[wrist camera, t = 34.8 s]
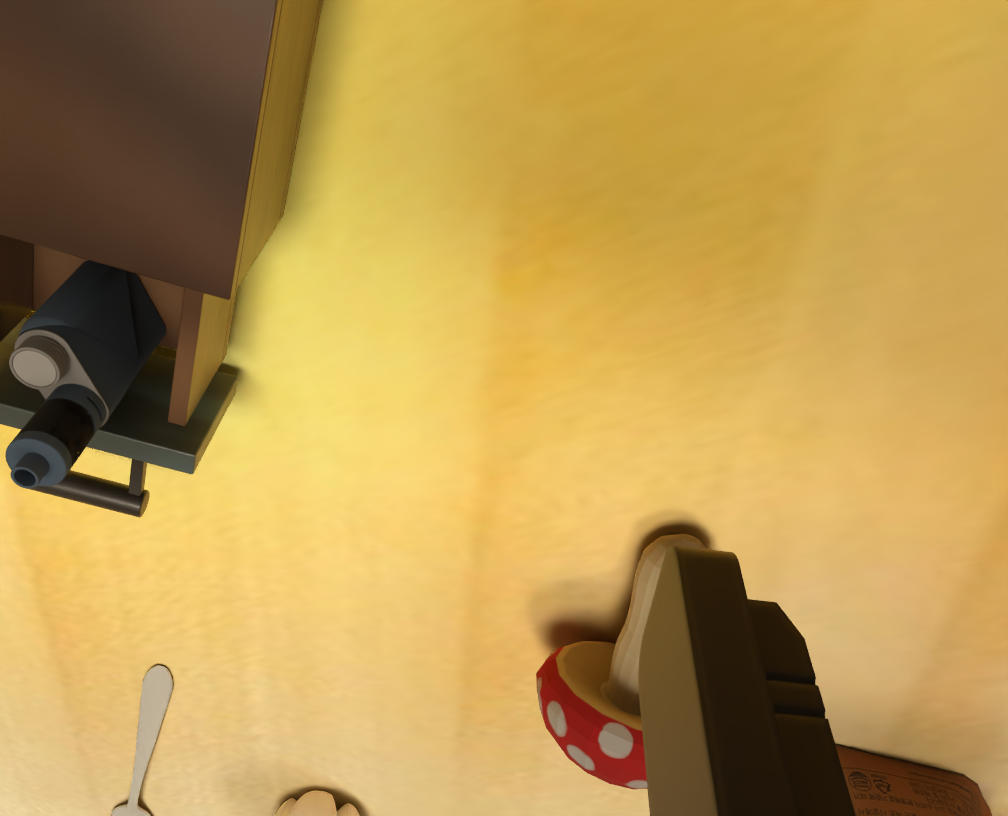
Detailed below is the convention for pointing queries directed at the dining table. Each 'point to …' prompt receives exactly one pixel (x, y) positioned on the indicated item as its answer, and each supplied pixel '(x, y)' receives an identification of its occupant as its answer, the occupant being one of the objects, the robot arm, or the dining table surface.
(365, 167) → the dining table surface
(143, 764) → the fork
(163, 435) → the drawer
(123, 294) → the vaping device
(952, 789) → the pancake mix bag
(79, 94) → the cabinet
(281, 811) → the water bottle
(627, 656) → the decorative mushroom
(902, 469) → the dining table surface
